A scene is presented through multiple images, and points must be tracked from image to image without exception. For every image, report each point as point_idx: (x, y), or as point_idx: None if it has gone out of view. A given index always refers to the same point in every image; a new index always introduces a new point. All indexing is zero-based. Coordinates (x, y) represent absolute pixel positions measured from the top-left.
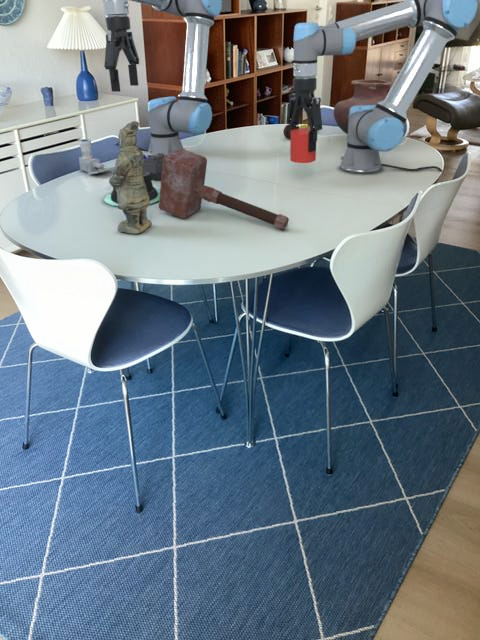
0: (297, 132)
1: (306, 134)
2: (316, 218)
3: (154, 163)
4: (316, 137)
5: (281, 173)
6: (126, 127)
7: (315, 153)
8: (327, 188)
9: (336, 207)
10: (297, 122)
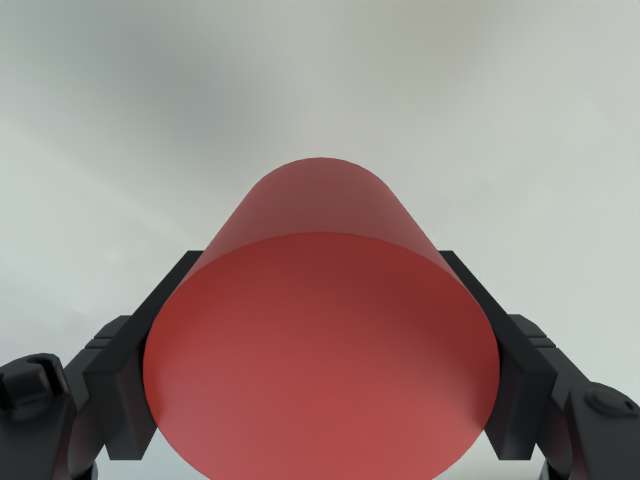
0: (335, 477)
1: (464, 444)
2: (635, 386)
3: None
4: (548, 350)
5: (93, 160)
6: None
7: (406, 210)
8: (443, 138)
9: (633, 276)
10: (62, 436)
